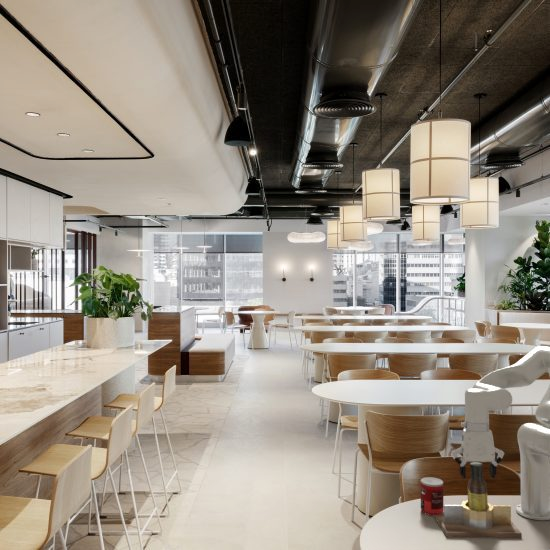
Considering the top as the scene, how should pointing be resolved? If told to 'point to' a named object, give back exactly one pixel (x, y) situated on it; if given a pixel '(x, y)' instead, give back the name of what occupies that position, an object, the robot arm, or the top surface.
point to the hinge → (477, 516)
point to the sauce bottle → (477, 488)
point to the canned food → (431, 495)
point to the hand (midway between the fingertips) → (477, 476)
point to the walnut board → (464, 531)
